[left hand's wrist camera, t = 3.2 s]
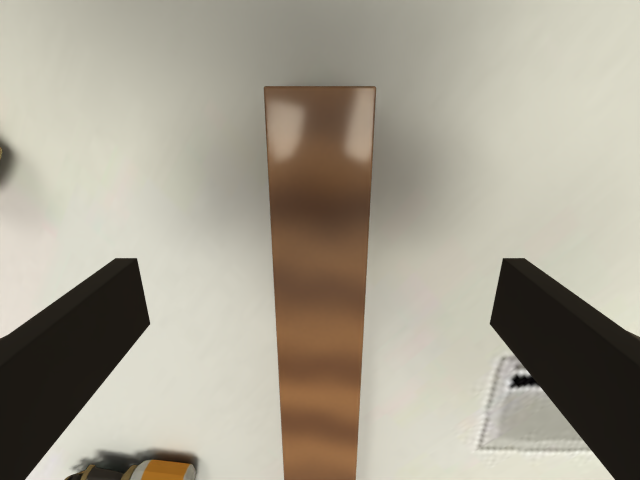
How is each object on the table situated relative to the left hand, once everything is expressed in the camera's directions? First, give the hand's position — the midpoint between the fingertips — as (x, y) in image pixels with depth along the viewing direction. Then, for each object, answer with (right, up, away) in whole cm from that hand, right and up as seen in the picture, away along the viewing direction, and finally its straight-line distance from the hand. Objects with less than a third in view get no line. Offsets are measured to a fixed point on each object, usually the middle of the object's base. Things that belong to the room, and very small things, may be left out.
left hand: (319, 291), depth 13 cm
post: (0, -25, +25) cm, 35 cm away
